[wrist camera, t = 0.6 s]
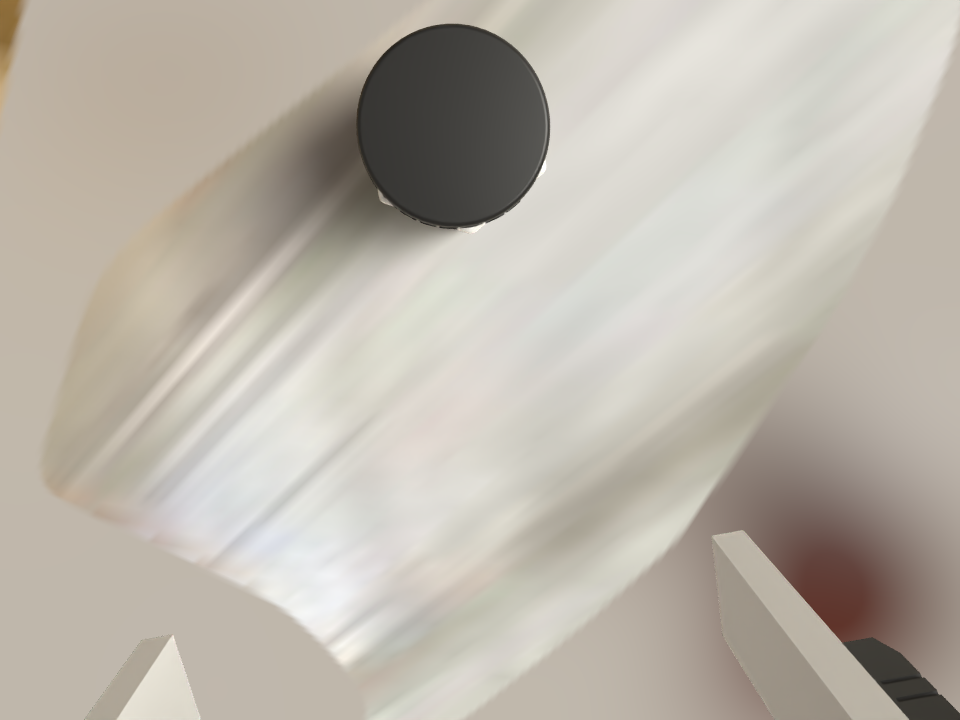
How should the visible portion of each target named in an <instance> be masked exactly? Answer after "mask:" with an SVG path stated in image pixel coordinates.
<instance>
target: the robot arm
mask: <svg viewBox="0 0 960 720" xmlns="http://www.w3.org/2000/svg"><path fill="white" fill-rule="evenodd" d="M711 537H712V545H713V554H714V563H715V573H716V581H717V590H718V599H719V608H720V617H721V626H722V635H723V637H724V639H725V640H726V642H727V643H728V645H729V647H730V648H731V650H732V652H733V653H734V655H735V657H736V658H737V660H738V661H739V663H740V664H741V666H742V668H743V669H744V671H745V673H746V674H747V676H748V678H749V679H750V681H751V682H752V684H753V686H754V688H755V689H756V691H757V692H758V694H759V696H760V697H761V699H762V700H763V702H764V704H765V705H766V707H767V709H768V710H769V712H770V714H771V715H772V717H773V718H774V720H960V713H959V712H958V711H957V710H956V709H955V708H954V707H953V706H952V705H951V704H950V703H949V702H948V701H947V700H946V699H945V698H944V697H943V696H942V695H939V694H938V692H937V690H936V689H935V688H934V687H933V686H932V685H931V684H930V683H929V682H928V681H927V680H926V679H925V678H922V677H921V675H920V673H919V672H918V671H917V670H916V669H915V668H914V667H913V666H912V664H910V662H909V661H907V660H906V658H904V657H903V655H902V654H901V653H899V652H897V651H895V650H894V649H892V648H890V647H889V646H887V645H885V644H883V643H881V642H880V641H878V640H876V639H874V638H866V639H861V640H856V641H850V642H844V643H842V642H841V641H840V640H839V639H838V638H837V637H836V636H835V635H834V633H833V632H832V631H831V630H830V629H829V628H828V626H827V625H826V624H825V623H824V622H823V621H822V620H821V618H820V617H819V616H818V615H817V614H816V613H815V612H814V611H813V609H812V608H810V606H809V605H808V604H807V603H806V601H805V600H804V599H803V598H802V597H801V596H800V595H799V593H798V592H797V591H796V590H795V589H794V588H793V587H792V585H791V584H790V583H789V582H788V581H787V580H786V579H785V577H784V576H783V575H782V574H781V573H780V572H779V571H778V569H777V568H776V567H775V566H774V565H773V564H772V563H771V562H770V560H769V559H768V558H767V557H766V556H765V555H764V553H763V552H762V551H761V550H760V549H759V548H758V547H757V546H756V544H755V543H754V542H753V541H752V540H751V539H750V538H749V536H748V535H747V534H746V533H745V532H744V531H743V530H741V531H736V532H730V533H725V534H719V535H714V536H711ZM84 720H201V718H200V715H199V712H198V709H197V706H196V703H195V700H194V697H193V694H192V691H191V688H190V685H189V682H188V679H187V676H186V673H185V670H184V667H183V664H182V661H181V658H180V655H179V652H178V649H177V646H176V643H175V640H174V637H173V635H167V636H161V637H156V638H151V639H145V640H141V642H140V643H139V644H138V646H137V647H136V649H135V650H134V651H133V653H132V654H131V656H130V657H129V658H128V660H127V661H126V662H125V664H124V665H123V667H122V668H121V669H120V671H119V672H118V673H117V675H116V676H115V678H114V679H113V681H112V682H111V683H110V685H109V686H108V687H107V689H106V690H105V692H104V693H103V694H102V696H101V697H100V698H99V700H98V701H97V703H96V704H95V705H94V707H93V708H92V710H91V711H90V712H89V714H88V715H87V716H86V718H85V719H84Z"/></svg>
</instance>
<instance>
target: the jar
mask: <svg viewBox="0 0 960 720" xmlns="http://www.w3.org/2000/svg"><path fill="white" fill-rule="evenodd" d="M356 128H357V140H358V145H359V150H360V154H361V157H362V160H363V163H364V166H365V168H366V170H367V172H368V174H369V176H370V178H371V180H372V182H373V183H374V185H375V186H376V188H377V189H378V194H379V198H380V201H381V202H383V203H385V204H387V205H390V206H393V207H395V208H398V209H399V210H401V211H400V212H402V213H403V214H405V215H407V216H409V217H411V218H412V219H414V220H419V221H420V222H421V223H423V224H426V225H430V226H434V227H436V226H440V228H447V229H457V230H460V231H463V232H465V233H468V234H474V233H475V232H476V231H478V230H479V229H480V228H481V227H482V226H483V225H484V224H486V223H488V222H490V221H492V220H495V219H497V218H499V217H501V216H502V215H504V213H505V212H508V211H510V210H511V209H512V208H514V207H515V206H516V205H517V204H518V203H519V202H520V200H521V199H522V198H523V197H524V196H525V194H526V193H527V192H528V191H529V189H530V188H531V187H532V185H533V184H534V182H535V181H536V179H537V178H538V177H540V176H541V175H542V174H543V173H544V172H545V170H546V162H545V158H546V154H547V150H548V145H549V138H550V116H549V109H548V103H547V99H546V96H545V93H544V90H543V87H542V85H541V83H540V81H539V78H538V76H537V75H536V73H535V71H534V70H533V68H532V67H531V65H530V64H529V63H528V61H527V60H526V59H525V58H524V57H523V55H522V54H521V53H520V52H519V51H518V50H517V49H516V48H514V47H513V46H512V45H511V44H510V43H508V42H507V41H505V40H504V39H502V38H501V37H499V36H497V35H496V34H493V33H491V32H489V31H487V30H484V29H481V28H478V27H474V26H470V25H463V24H440V25H434V26H430V27H426V28H423V29H420V30H417V31H415V32H413V33H411V34H409V35H407V36H405V37H404V38H402V39H400V40H399V41H398V42H396V43H395V44H394V45H392V46H391V47H390V48H389V49H388V50H387V51H386V52H385V53H384V54H383V55H382V56H381V57H380V59H379V60H378V61H377V63H376V64H375V65H374V67H373V68H372V70H371V72H370V74H369V75H368V77H367V79H366V82H365V84H364V86H363V89H362V92H361V95H360V99H359V103H358V109H357V119H356Z"/></svg>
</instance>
